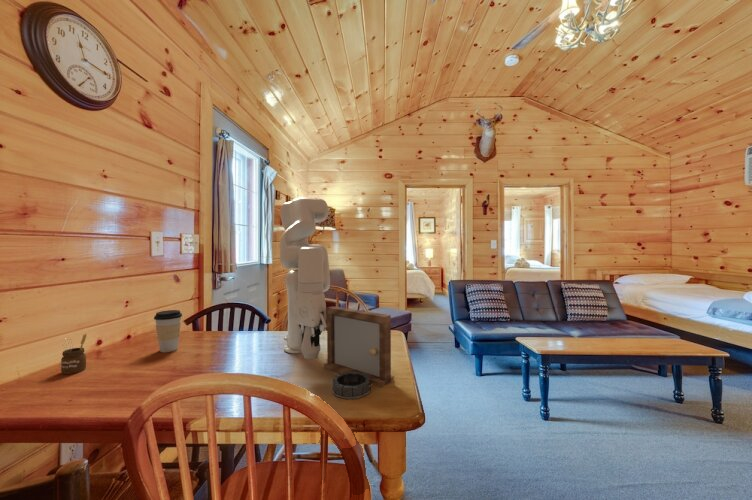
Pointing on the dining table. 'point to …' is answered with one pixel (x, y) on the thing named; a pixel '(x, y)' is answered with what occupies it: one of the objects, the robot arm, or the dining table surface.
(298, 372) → the dining table surface
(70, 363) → the utensil holder
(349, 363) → the door
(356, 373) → the socket
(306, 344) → the salt shaker
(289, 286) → the robot arm
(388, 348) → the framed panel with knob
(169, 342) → the coffee cup
